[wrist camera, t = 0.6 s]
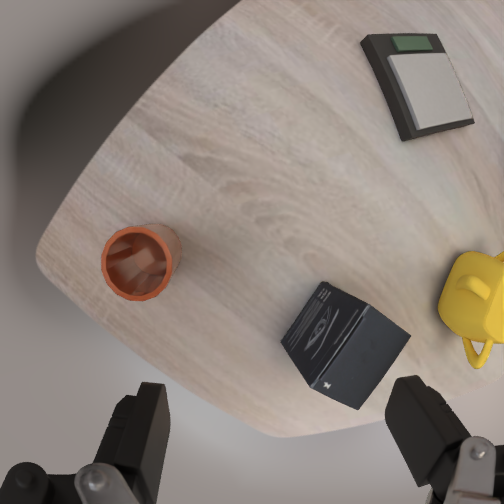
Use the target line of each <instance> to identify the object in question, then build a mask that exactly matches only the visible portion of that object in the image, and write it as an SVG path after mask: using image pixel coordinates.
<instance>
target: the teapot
mask: <svg viewBox="0 0 504 504" xmlns="http://www.w3.org/2000/svg"><path fill="white" fill-rule="evenodd" d="M503 262H504V251H503V252H502V253H500V254H499V255H497V256H496V257H491V256H489V255H486V254H483V253H480V252H475V251H468V252H466V253H464V254H462V255H460V256H459V257H458V258H457V259H456V261H455V263H454V265H453V267H452V269H451V272H450V274H449V276H448V279H447V281H446V284H445V286H444V289H443V291H442V294H441V297H440V300H439V303H438V312H439V314H440V317H441V319H442V320H443V321H444V323H445V324H446V325H447V326H448V327H449V328H450V329H451V330H452V331H453V332H454V333H456V334H457V335H459V336H461V337H462V339H463V344H464V348H465V352H466V356H467V359H468V361H469V363H470V364H471V366H472V367H473V368H475V369H479V368H481V367H482V366H483V365H484V364H485V362H486V360H487V358H488V356H489V354H490V351H491V348H492V345H493V344H502V343H504V263H503ZM471 340H472V341H476V342H482V343H485V344H484V347H483V349H482V351H481V353H480V354H479V355H478V354H477V353H476V351H475V350H474V348H473V345H472V343H471Z"/></svg>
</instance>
